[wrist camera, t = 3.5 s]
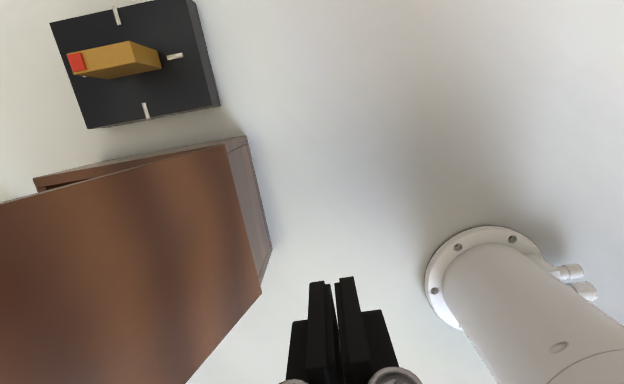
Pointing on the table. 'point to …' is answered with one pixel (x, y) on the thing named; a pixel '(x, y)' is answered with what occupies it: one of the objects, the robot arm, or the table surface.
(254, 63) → the table surface
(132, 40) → the lock plate
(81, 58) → the thumb turn
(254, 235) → the chest
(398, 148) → the table surface
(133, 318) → the lid
